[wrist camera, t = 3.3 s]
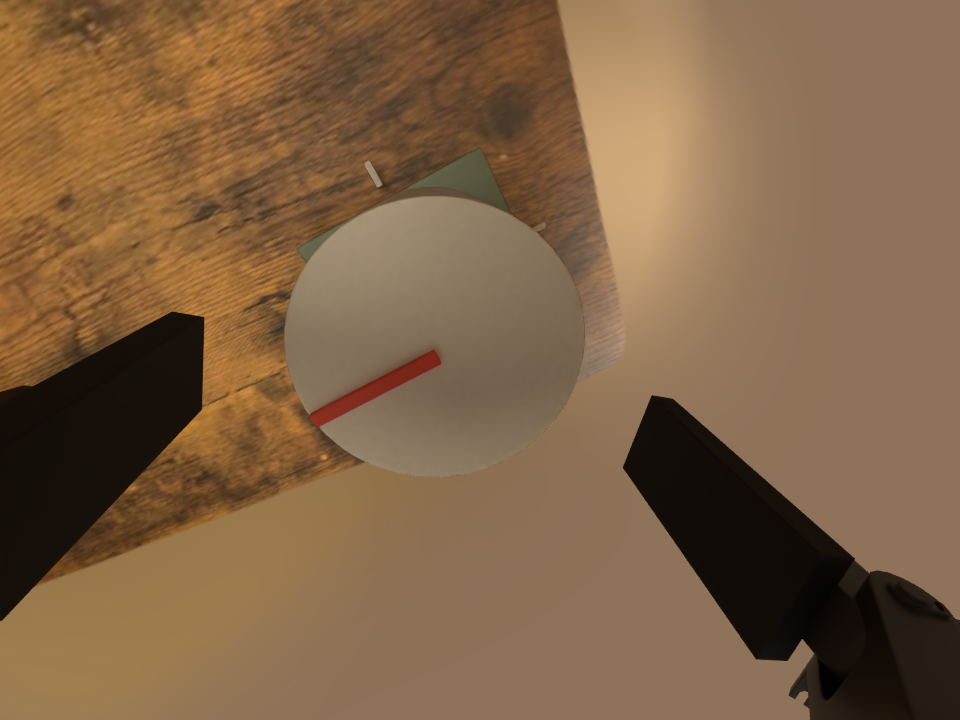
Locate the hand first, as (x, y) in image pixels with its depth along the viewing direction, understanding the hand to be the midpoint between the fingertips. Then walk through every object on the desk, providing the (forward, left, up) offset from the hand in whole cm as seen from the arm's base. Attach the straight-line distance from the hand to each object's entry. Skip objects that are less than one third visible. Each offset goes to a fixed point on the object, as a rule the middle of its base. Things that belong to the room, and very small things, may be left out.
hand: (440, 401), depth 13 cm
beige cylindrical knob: (0, 0, -16) cm, 16 cm away
